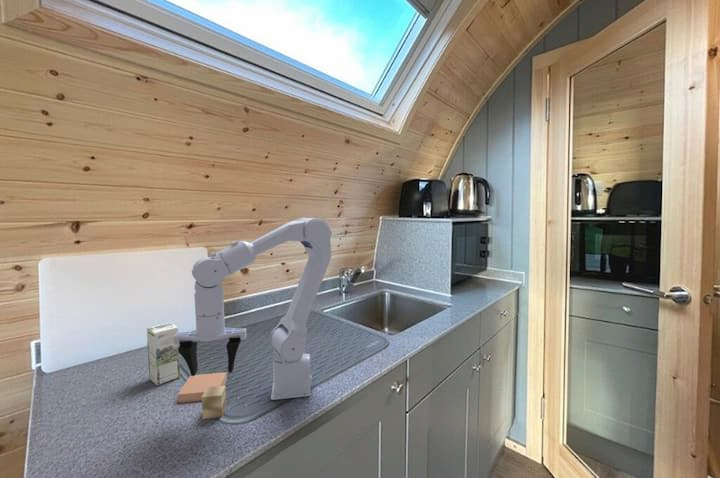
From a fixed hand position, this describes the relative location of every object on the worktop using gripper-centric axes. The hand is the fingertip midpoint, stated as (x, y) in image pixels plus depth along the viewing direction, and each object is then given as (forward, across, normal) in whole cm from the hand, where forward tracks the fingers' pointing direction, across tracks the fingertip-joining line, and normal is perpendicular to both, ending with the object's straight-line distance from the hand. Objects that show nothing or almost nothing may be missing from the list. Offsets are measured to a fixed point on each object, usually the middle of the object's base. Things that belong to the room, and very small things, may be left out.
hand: (212, 372), depth 72 cm
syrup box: (+10, +17, -18) cm, 26 cm away
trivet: (+10, +5, -10) cm, 15 cm away
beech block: (+10, 0, 0) cm, 10 cm away
